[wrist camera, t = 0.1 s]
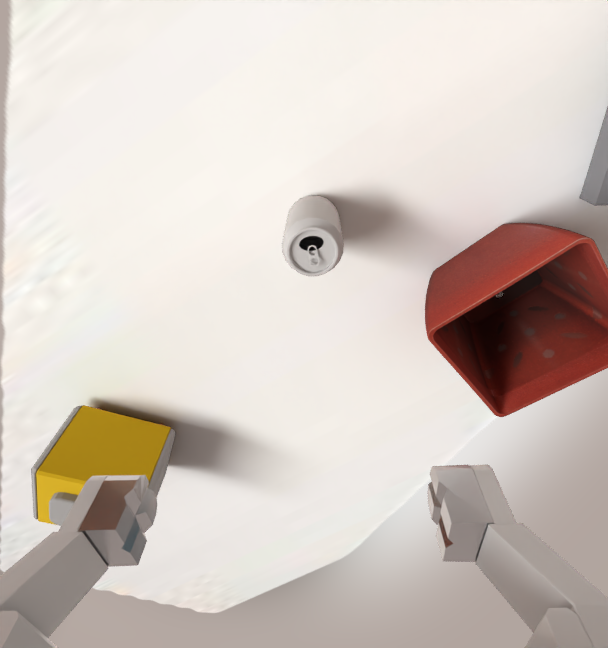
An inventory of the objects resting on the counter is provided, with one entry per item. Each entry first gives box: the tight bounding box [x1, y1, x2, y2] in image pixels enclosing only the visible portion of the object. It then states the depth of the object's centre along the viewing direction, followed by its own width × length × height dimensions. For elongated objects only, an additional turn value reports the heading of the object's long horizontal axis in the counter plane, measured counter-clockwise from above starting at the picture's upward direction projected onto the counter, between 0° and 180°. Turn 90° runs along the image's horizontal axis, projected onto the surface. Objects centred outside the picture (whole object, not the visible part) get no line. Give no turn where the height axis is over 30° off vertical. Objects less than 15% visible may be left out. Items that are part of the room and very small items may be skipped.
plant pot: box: [425, 223, 608, 417], centre depth 53 cm, size 19×19×17 cm
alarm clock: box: [31, 405, 175, 526], centre depth 74 cm, size 20×16×18 cm
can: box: [282, 195, 344, 276], centre depth 51 cm, size 8×8×12 cm
